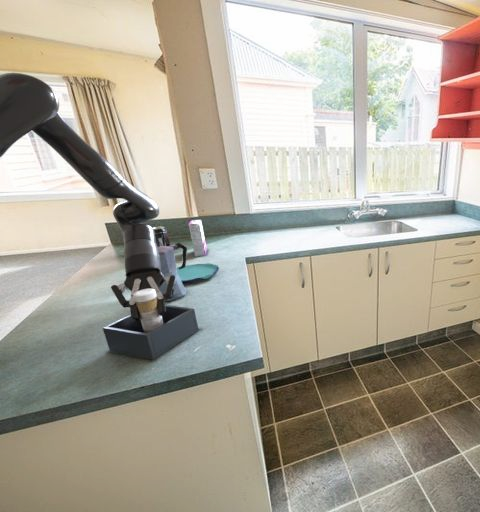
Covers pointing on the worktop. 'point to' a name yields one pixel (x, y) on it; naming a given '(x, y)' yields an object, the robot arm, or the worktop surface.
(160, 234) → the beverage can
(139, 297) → the sprinkles bottle
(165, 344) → the open box
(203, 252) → the candy bar box
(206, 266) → the teal oval tray
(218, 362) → the worktop surface
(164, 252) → the moka pot
